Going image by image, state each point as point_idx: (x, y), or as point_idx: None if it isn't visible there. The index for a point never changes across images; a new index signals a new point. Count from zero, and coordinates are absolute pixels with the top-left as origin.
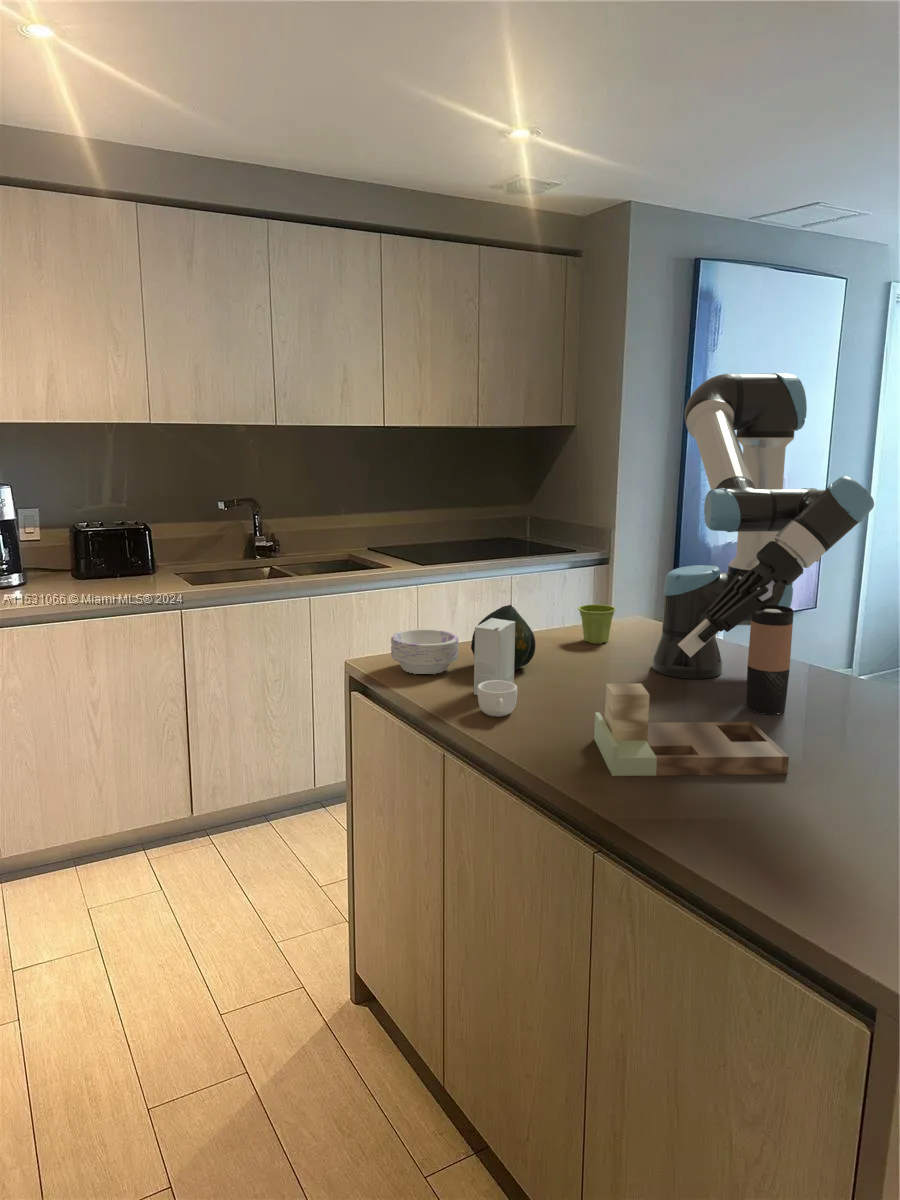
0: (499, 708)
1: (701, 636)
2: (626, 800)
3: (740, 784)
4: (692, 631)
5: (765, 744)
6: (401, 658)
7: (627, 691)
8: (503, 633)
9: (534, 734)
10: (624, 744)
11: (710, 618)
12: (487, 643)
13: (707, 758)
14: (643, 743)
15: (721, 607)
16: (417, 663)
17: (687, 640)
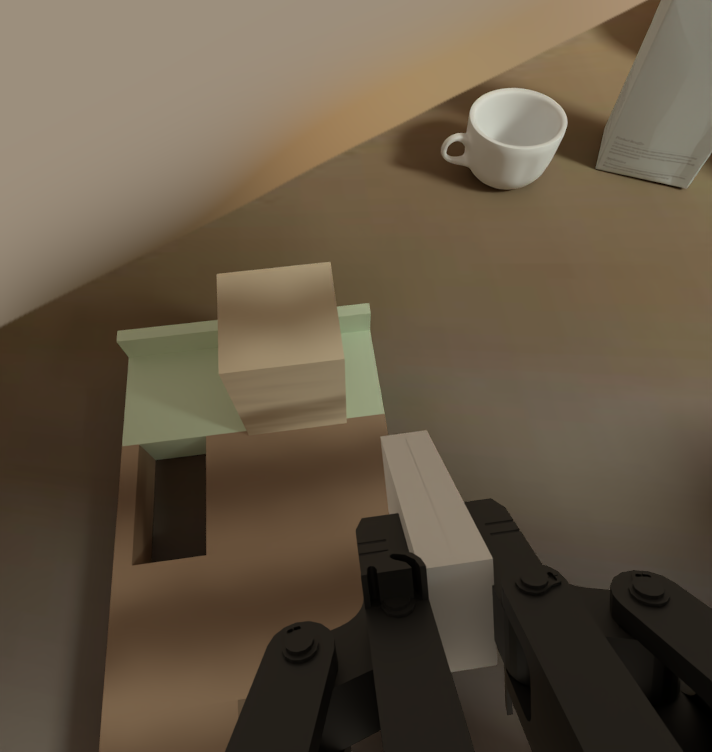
0: (465, 155)
1: (357, 531)
2: (16, 388)
3: (59, 686)
4: (446, 483)
5: None
6: None
7: (249, 312)
8: (698, 12)
9: (382, 234)
10: (217, 377)
11: (363, 570)
12: (657, 17)
13: (112, 589)
14: (224, 423)
15: (563, 724)
16: None
17: (387, 462)
